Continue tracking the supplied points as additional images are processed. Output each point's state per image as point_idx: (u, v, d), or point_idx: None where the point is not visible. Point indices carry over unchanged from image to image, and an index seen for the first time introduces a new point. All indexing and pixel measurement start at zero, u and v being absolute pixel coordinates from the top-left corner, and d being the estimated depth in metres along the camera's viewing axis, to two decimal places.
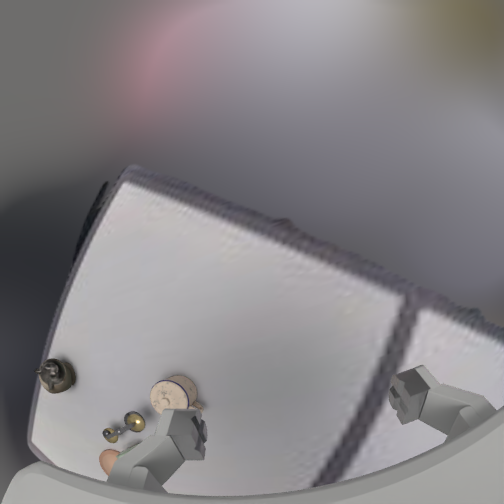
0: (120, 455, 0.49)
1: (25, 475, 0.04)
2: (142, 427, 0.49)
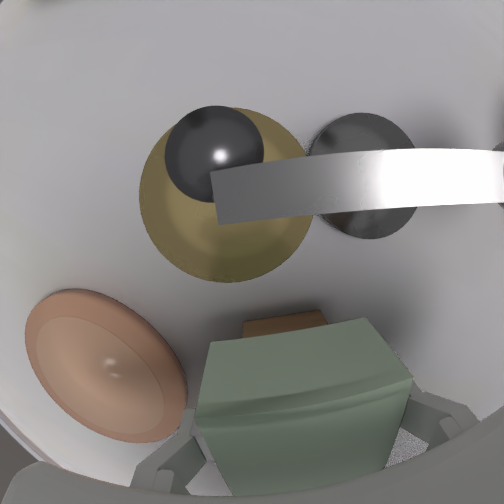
0: (261, 420, 0.06)
1: (25, 475, 0.04)
2: None
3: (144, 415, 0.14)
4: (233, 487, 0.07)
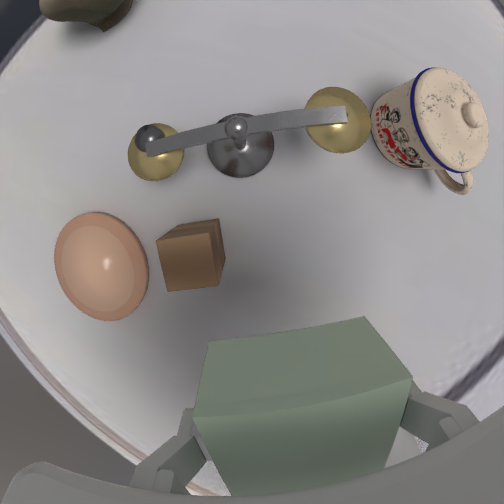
0: (259, 420, 0.06)
1: (25, 475, 0.04)
2: (356, 144, 0.15)
3: (122, 291, 0.26)
4: (232, 487, 0.07)
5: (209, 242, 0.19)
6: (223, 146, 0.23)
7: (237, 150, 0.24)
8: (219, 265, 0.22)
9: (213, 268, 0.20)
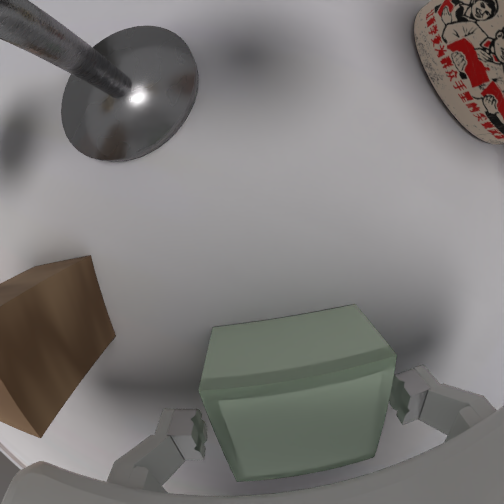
0: (258, 393, 0.08)
1: (25, 475, 0.04)
2: None
3: None
4: (233, 465, 0.09)
5: None
6: (88, 97, 0.08)
7: (112, 100, 0.08)
8: (60, 377, 0.07)
9: (14, 404, 0.05)
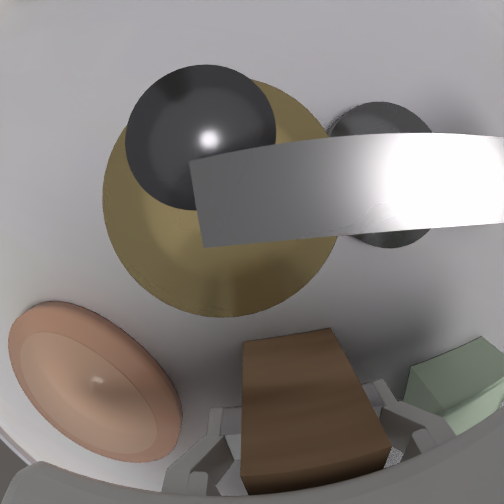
0: (468, 401, 0.09)
1: (25, 475, 0.04)
2: None
3: (135, 437, 0.12)
4: None
5: (384, 458, 0.05)
6: None
7: None
8: None
9: None
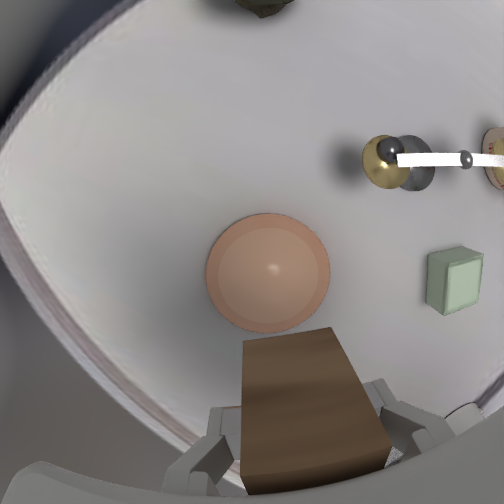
0: (459, 263, 0.23)
1: (25, 475, 0.04)
2: None
3: (299, 298, 0.27)
4: (446, 302, 0.24)
5: (385, 458, 0.05)
6: None
7: (412, 167, 0.24)
8: None
9: None
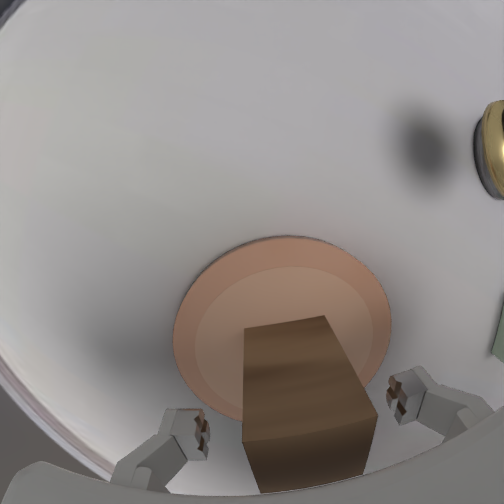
0: None
1: (25, 475, 0.04)
2: None
3: None
4: None
5: (372, 429, 0.07)
6: None
7: None
8: None
9: (363, 459, 0.07)
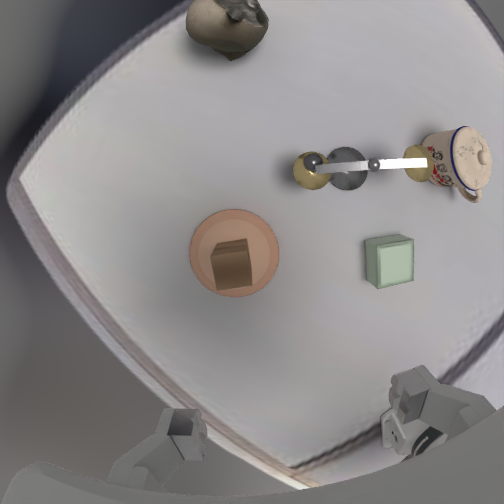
0: (388, 246, 0.34)
1: (24, 475, 0.04)
2: (427, 177, 0.27)
3: (256, 270, 0.38)
4: (378, 277, 0.35)
5: (247, 257, 0.30)
6: None
7: (346, 172, 0.35)
8: (251, 272, 0.33)
9: (249, 274, 0.30)
